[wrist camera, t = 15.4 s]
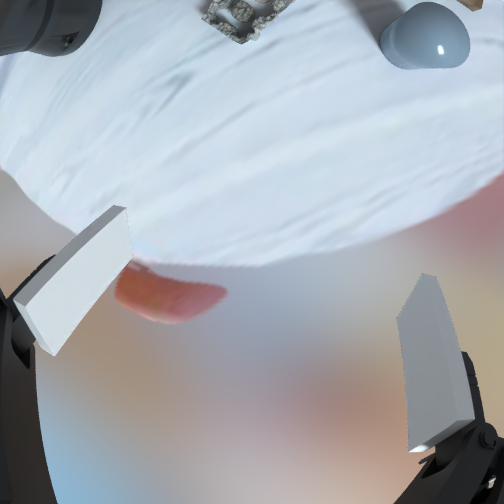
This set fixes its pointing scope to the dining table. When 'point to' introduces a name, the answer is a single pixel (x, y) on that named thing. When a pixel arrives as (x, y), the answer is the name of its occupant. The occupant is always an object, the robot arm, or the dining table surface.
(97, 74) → the dining table surface
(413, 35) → the slate jar
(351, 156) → the dining table surface
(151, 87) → the dining table surface
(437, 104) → the dining table surface
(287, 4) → the egg carton
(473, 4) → the wooden square frame
